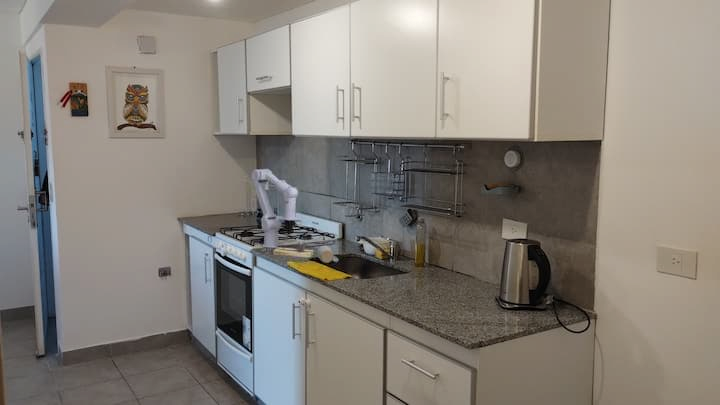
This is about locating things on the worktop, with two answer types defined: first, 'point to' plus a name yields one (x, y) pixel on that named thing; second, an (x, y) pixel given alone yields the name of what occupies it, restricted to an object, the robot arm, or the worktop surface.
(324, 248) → the ceramic mug
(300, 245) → the fader knob
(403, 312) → the worktop surface
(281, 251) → the fader console
